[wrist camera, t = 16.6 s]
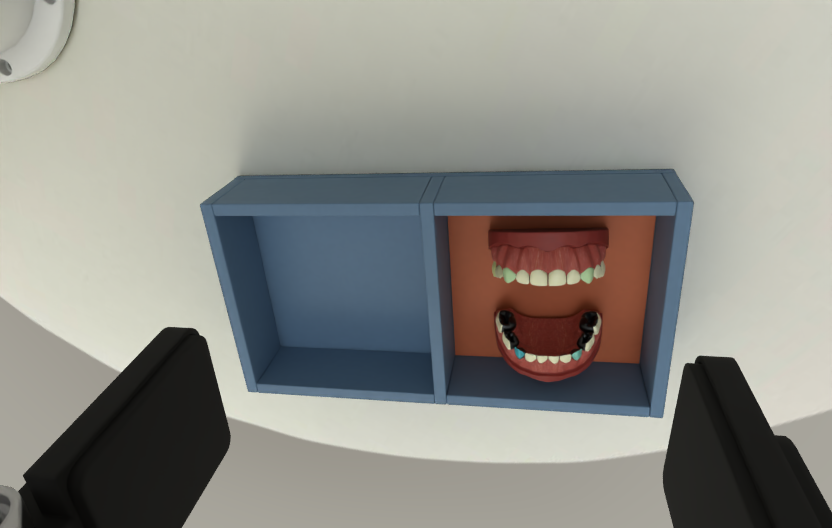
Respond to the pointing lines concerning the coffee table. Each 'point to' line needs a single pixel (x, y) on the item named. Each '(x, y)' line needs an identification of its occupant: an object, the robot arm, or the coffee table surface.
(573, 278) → the dentures
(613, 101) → the coffee table surface
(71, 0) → the robot arm
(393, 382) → the storage tray
